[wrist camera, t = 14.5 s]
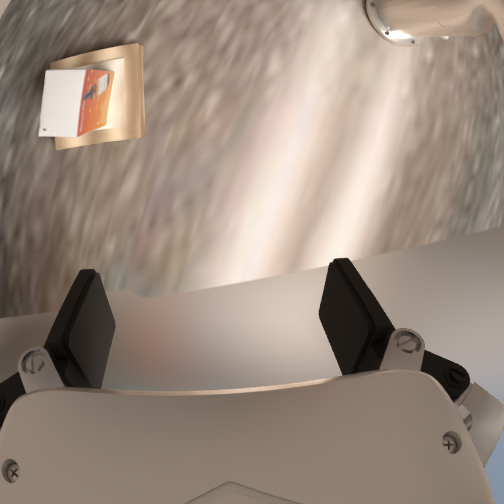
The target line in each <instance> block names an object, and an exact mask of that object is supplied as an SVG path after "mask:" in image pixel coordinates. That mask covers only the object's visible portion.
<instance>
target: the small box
mask: <svg viewBox="0 0 504 504" xmlns="http://www.w3.org/2000/svg"><path fill="white" fill-rule="evenodd" d="M114 74H115V72H114V71H106V70H96V69H52V70H46V72H45V81H44V89H43V97H42V106H41V116H40V126H39V136H51V137H74V138H77V137H80V136H82V135H84V134H86V133H89V132H91V131H93V130H96V129H98V128H101V127H103V126H105V125H106V124H107V114H108V107H109V101H110V95H111V90H112V84H113V79H114Z"/></svg>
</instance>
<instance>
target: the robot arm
mask: <svg viewBox="0 0 504 504" xmlns="http://www.w3.org/2000/svg"><path fill="white" fill-rule="evenodd" d="M366 9H367V14H368V17H369V19H370V21H371V23H372V25H373V26H374V28H375V29H376V30H377V32H378V33H379V34H380V35H381V36H382V37H384V38H385V39H386V40H388V41H389V42H391V43H393V44H395V45H398V46H402V47H410V46H415V45H418V44H419V43H421V42H422V41H423V40H424V38H425V37H439V38H441V39H443V40H448V38H449V36H480V35H483V34H485V33H487V32H488V31H489V30H490V29H491V28H492V27H493V26H494V24H496V26H497V28H498V31H499V33H500V34H501V36H502V39H503V41H504V0H366ZM319 318H320V321H321V323H322V326H323V328H324V330H325V333H326V335H327V337H328V340H329V343H330V345H331V347H332V350H333V352H334V355H335V357H336V360H337V362H338V365H339V367H340V370H341V372H342V375H343V376H338V377H331V378H325V379H319V380H312V381H305V382H298V383H291V384H283V385H274V386H264V387H253V388H241V389H227V390H208V391H129V390H108V389H101V386H102V381H103V377H104V372H105V368H106V364H107V359H108V355H109V351H110V347H111V343H112V339H113V335H114V332H115V320H114V317H113V314H112V311H111V308H110V306H109V303H108V299H107V296H106V293H105V290H104V287H103V284H102V280H101V277H100V274H99V273H96V271H95V270H94V269H82V270H80V271H79V273H78V275H77V277H76V279H75V281H74V283H73V285H72V287H71V289H70V291H69V293H68V295H67V297H66V299H65V301H64V303H63V305H62V307H61V309H60V311H59V313H58V316H57V318H56V320H55V322H54V324H53V326H52V329H51V331H50V333H49V335H48V338H47V340H46V342H45V345H44V347H43V348H42V347H33V348H30V349H28V350H27V351H26V352H24V353H23V354H22V355H21V357H20V359H19V362H18V370H19V372H17V373H16V374H14V375H13V376H11V377H10V378H8V379H7V380H5V381H4V382H2V383H1V384H0V504H495V501H494V498H493V495H492V491H491V488H490V485H489V482H488V479H487V476H486V473H485V471H484V467H485V465H486V464H487V462H488V460H489V458H490V456H491V454H492V452H493V450H494V448H495V446H496V444H497V442H498V440H499V438H500V435H501V433H502V431H503V429H504V405H503V404H502V403H501V402H500V401H499V400H497V399H496V398H495V397H494V396H492V395H491V394H490V393H488V392H487V391H486V390H484V389H483V388H482V387H480V386H479V385H478V384H476V383H475V382H474V383H473V384H471V383H470V377H469V374H468V372H467V371H466V370H465V369H464V368H463V367H462V366H460V365H459V364H457V363H454V362H452V361H450V360H447V359H445V358H443V357H440V356H438V355H436V354H433V353H431V352H429V351H426V350H425V344H424V340H423V339H422V337H421V336H420V335H419V334H418V333H416V332H415V331H413V330H411V329H407V328H400V329H395V328H394V326H393V325H392V323H391V321H390V320H389V318H388V317H387V315H386V313H385V312H384V311H383V309H382V307H381V306H380V304H379V302H378V301H377V300H376V298H375V296H374V295H373V293H372V292H371V290H370V289H369V288H368V286H367V285H366V283H365V282H364V280H363V279H362V277H361V276H360V274H359V273H358V271H357V270H356V268H355V267H354V265H353V264H352V263H351V261H350V260H349V259H348V258H336V259H334V260H333V262H331V263H330V264H329V267H328V272H327V277H326V281H325V286H324V291H323V295H322V300H321V304H320V308H319Z"/></svg>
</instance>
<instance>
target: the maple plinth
mask: <svg viewBox="0 0 504 504" xmlns="http://www.w3.org/2000/svg"><path fill="white" fill-rule="evenodd" d="M52 69H96V70H106V71H114V72H115V74H114V79H113V84H112V90H111V95H110V101H109V107H108V114H107V124H106V125H105V126H103V127H101V128H98V129H96V130H93V131H91V132H89V133H86V134H84V135H82V136H80V137H77V138H74V137H55V144H56V150H61V149H66V148H71V147H77V146H83V145H89V144H95V143H102V142H109V141H117V140H125V139H134V138H141V137H142V136H143V135H145V134H146V133H145V113H144V46H143V45H141V44H139V43H135V44H128V45H122V46H117V47H112V48H107V49H102V50H97V51H93V52H88V53H84V54H80V55H76V56H73V57H69V58H65V59H62V60H59V61H55V62H52V63H50V70H52Z"/></svg>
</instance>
